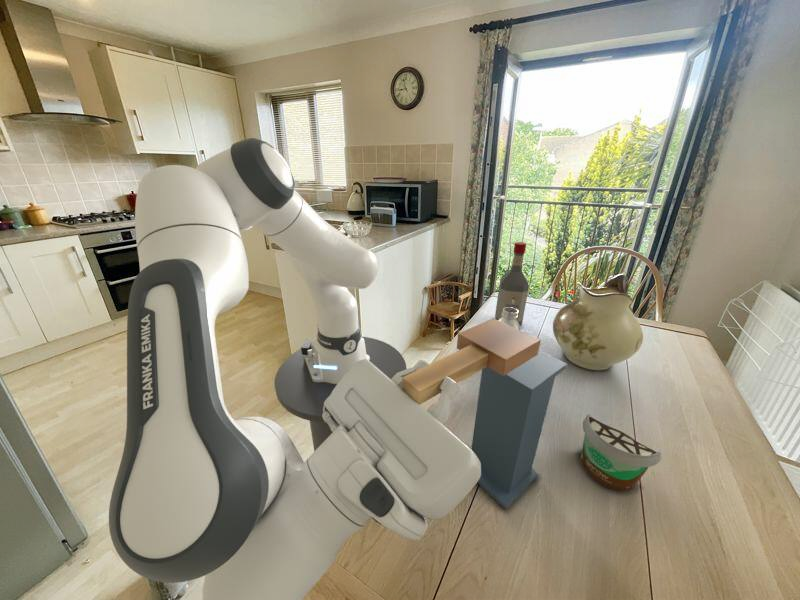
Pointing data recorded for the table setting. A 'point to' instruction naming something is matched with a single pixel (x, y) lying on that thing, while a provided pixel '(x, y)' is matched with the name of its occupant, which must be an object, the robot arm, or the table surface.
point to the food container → (614, 456)
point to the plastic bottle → (510, 317)
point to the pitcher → (599, 326)
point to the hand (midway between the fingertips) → (440, 372)
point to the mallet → (474, 358)
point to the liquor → (513, 286)
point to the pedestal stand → (512, 424)
